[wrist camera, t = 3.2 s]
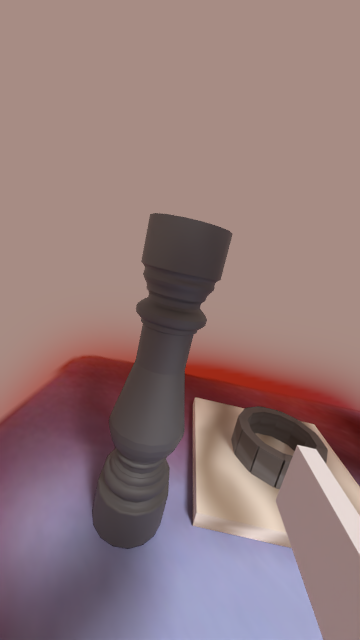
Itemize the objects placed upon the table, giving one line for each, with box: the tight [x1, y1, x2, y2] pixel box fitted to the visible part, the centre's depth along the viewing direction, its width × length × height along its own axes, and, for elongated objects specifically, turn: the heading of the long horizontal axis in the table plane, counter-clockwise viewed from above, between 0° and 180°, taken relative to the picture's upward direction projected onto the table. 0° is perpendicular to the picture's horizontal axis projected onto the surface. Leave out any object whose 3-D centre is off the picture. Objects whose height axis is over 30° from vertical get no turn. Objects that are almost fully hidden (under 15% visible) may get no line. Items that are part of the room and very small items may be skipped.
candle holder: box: [92, 213, 232, 549], centre depth 21 cm, size 6×6×25 cm
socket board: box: [193, 397, 360, 548], centre depth 33 cm, size 20×20×5 cm
